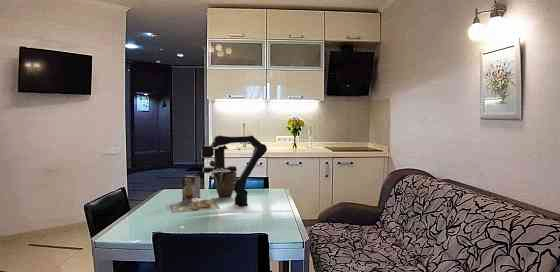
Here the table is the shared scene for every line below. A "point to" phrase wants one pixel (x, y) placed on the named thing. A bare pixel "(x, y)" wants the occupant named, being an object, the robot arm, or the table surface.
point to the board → (191, 207)
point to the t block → (201, 203)
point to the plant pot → (225, 184)
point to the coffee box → (190, 187)
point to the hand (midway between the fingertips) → (219, 184)
